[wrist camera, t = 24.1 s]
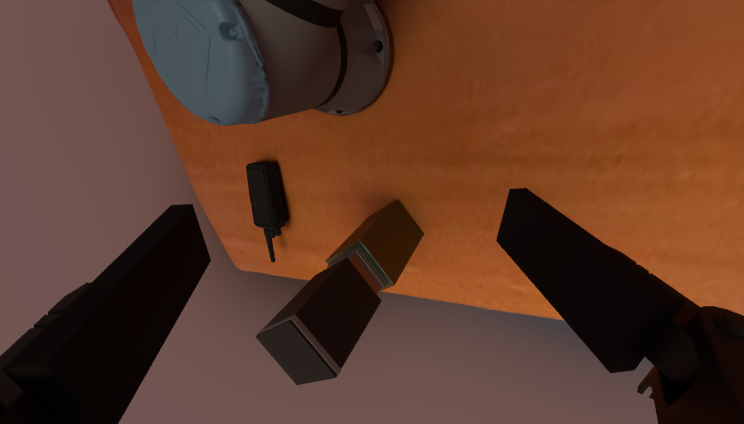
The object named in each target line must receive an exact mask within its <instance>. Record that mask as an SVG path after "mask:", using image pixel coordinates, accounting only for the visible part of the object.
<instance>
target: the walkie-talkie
mask: <svg viewBox="0 0 744 424" xmlns="http://www.w3.org/2000/svg"><path fill="white" fill-rule="evenodd" d="M246 170H247V179H248V187H249V195H250V201H251V205H252V213H253V219H254V224H255V225H256V226H257V227H261V228H263V229H264V234H265V237H266V241H267V245H268V249H269V254H270V258H271V262H275V258H274V250H273V244H272V238H275V236H279V235H281V229H280V228H281V227H283V226H285V224H286V221H288V216H287V210H286V205H285V200H284V196H283V192H282V188H281V184H280V180H279V177H278V172H277V167H276V163H275V162H255V163H251V164H248V165H247V166H246Z"/></svg>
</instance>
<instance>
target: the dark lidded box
mask: <svg viewBox="0 0 744 424" xmlns="http://www.w3.org/2000/svg"><path fill="white" fill-rule="evenodd" d="M380 302H381V300H380V298H379V297H378V296H377V294H376V293H375V292H374V291H373V289H372V288H371V287H370V286H369V284H368V283H367V282H366V280H365V279H364V278H363V277H362V275H361V274H360V273H359V272H358V270H357V269H356V268H355V267H354V265H353V264H352V263H351V261H350V260H349V259H348V258H345V259H343V260H341V261H340V262H338V263H336V264H334V265H333V266H331V267H329V268H327V269H326V270H324V271H322V272H320V273H319V274H317V275H315V276H314V277H313V278H312V279H311V280H310V281H309V282H308V283H307V284H306V285H305V286H304V287H303V288H302V289H301V290H300V292H299V293H298V294H297V295H296V296H295V297H294V298H293V299H292V300H291V301H290V302H289V303H288V304H287V305H286V306H285V307H284V308H283V309H282V310H281V311H280V312H279V313H278V314H277V315H276V316H275V317H274V318H273V319H272V320H271V321H270V322H269V324H267V325H266V327H264V328H263V329H262V330H261V331H260V332H259V333H258V335H257V336H256V338H257V339H258V340H259V341H260V343H261V344H262V345H263V346H264V347H265V348H266V350H267V351H268V352H269V353H270V354H271V355H272V356H273V358H274V359H275V360H276V361H277V362H278V364H279V365H280V366H281V367H282V368H283V369H284V371H285V372H286V373H287V374H288V375H289V376H290V378H291V379H292V380H293V381H294V382H295V383H296V384H297V385H300V384H305V383H311V382H316V381H321V380H327V379H332V378H336V377H337V375H339V373H340V371H341V368H342V367H343V365H344V363H345V361H346V360H347V358H348V356H349V355H350V353H351V351H352V350H353V348H354V346H355V345H356V343H357V341H358V340H359V338H360V336H361V335H362V333H363V331H364V329H365V328H366V326H367V324H368V323H369V321H370V319H371V318H372V316H373V314H374V313H375V311H376V309H377V308H378V306H379V304H380Z"/></svg>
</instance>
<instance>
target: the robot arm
mask: <svg viewBox="0 0 744 424" xmlns="http://www.w3.org/2000/svg"><path fill="white" fill-rule="evenodd" d="M132 5H133V10H134V15H135V19H136V23H137V26H138V30H139V33H140V36H141V39H142V41H143V44H144V46H145V49H146V51H147V53H148V55H149V57H150V59H151V60H152V62H153V65H154V67H155V69H156V70H157V72H158V74H159V76H160V77H161V79H162V80H163V82H164V83H165V84H166V86H167V87H168V89H169V90H170V91H171V92H172V94H173V95H174V96H175V97H176V98H177V99H178V100H179V101H180V102H181V103H182V104H183V105H184V106H185V107H186V108H187V109H188V110H190V111H191V112H192V113H193V114H195V115H196V116H198V117H200V118H201V119H203V120H205V121H208V122H210V123H213V124H217V125H224V126H229V125H236V124H243V123H246V124H256V123H259V122H261V121H264V120H268V119H272V118H276V117H280V116H284V115H288V114H292V113H296V112H300V111H304V110H308V109H312V108H313V109H315V110H318V111H321V112H324V113H327V114H331V115H337V116H344V115H350V114H353V113H357V112H359V111H362V110H364V109H366V108H367V107H369V106H370V105H371V104H373V103H374V102H375V101H376V100H377V99H378V97H379V96H380V95H381V94H382V92H383V90H384V89H385V87H386V85H387V82H388V80H389V77H390V74H391V70H392V65H393V54H394V51H393V38H392V33H391V29H390V26H389V23H388V20H387V18H386V16H385V14H384V12H383V10H382V9H381V7H380V6H379V4H378V3H377V2H376V1H375V0H132ZM496 241H497V242H498V243H499V245H500V246H501V247H502V248H503V249H504V250H505V251H506V253H507V254H508V255H509V256H510V257H511V258H512V260H513V261H514V262H515V263H516V264H517V265H518V267H519V268H520V269H521V270H522V271H523V272H524V274H525V275H526V276H527V277H528V278H529V279H530V280H531V282H532V283H533V284H534V285H535V286H536V287H537V289H538V290H539V291H540V292H541V293H542V294H543V296H544V297H545V298H546V299H547V300H548V301H549V303H550V304H551V305H552V306H553V307H554V308H555V309H556V311H557V312H558V313H559V314H560V315H561V316H562V318H563V319H564V320H565V321H566V322H567V323H568V325H569V326H570V327H571V328H572V329H573V330H574V332H575V333H576V334H577V335H578V336H579V337H580V338H581V340H582V341H583V342H584V343H585V344H586V345H587V347H588V348H589V349H590V350H591V351H592V352H593V354H594V355H595V356H596V357H597V358H598V359H599V360H600V362H601V363H602V364H603V365H604V366H605V367H606V369H607V370H608V371H609V372H610V373H616V372H624V371H631V370H635V369H636V367H637V366H638V365H639V363H640V362H641V361H642V359H643V358H644V356H645V357H646V358H647V359H648V360H649V361H650V362H651V363H652V364H653V365H654V367H653V368H652V369H651V370H650V372H649V373H648V375H647V376H646V377H645V378H644V379H643V381H642V382H641V383H640V385H639V386H638V390H637V392H638V393H640V394H643V392H644V391H645V390H646V389H647V388H648V387H649V386H650V387H652V394H651V395H650V396H649V398H652V399H654V402H655V408H656V413H657V419H658V424H744V316H742V315H740V314H738V313H735V312H732V311H730V310H727V309H723V308H719V307H714V306H704V307H702V308H701V307H699V306H698V305H696V304H695V303H693V302H692V301H691V300H689V299H688V298H686V297H685V296H683V295H682V294H681V293H679V292H678V291H676V290H675V289H673V288H672V287H671V286H669V285H668V284H666V283H665V282H663V281H662V280H661V279H659V278H658V277H656V276H655V275H653V274H652V273H651V274H649V271H648V270H646V269H645V268H643V267H642V266H640V265H637V264H636V262H635V261H633V260H632V259H630V258H629V257H628V256H626V255H625V254H623V253H622V252H620V251H618V250H616V249H613V248H611V247H609V246H607V245H605V244H604V243H602V242H601V241H600V240H598V239H597V238H595V237H594V236H593V235H591V234H590V233H588V232H587V231H586V230H584V229H583V228H581V227H580V226H579V225H577V224H576V223H574V222H573V221H572V220H570V219H569V218H567V217H566V216H565V215H563V214H562V213H560V212H559V211H558V210H556V209H555V208H553V207H552V206H551V205H549V204H548V203H546V202H545V201H544V200H542V199H541V198H539V197H538V196H536V195H535V194H534V193H532V192H531V191H529V190H528V189H527V188H520V189H510V191H509V194H508V198H507V202H506V206H505V210H504V213H503V217H502V221H501V225H500V229H499V232H498V236H497V240H496ZM210 261H211V259H210V256H209V253H208V250H207V247H206V244H205V241H204V238H203V235H202V232H201V229H200V226H199V223H198V220H197V217H196V214H195V211H194V208H193V205H192V204H185V205H171V206H170V207H169V208H168V209H167V210H166V211H165V212H164V213H163V214H162V215H161V216H160V217H159V218H158V219H156V220H155V221H154V222H153V223H152V224H151V226H149V227H148V229H146V230H145V231H144V232H143V233H142V234H141V235H140V236H139V237H138V238H137V239H136V240H135V241H134V242H133V243H132V244H131V245H130V246H129V247H128V248H127V249H126V250H125V251H124V252H123V253H122V254H121V255H120V256H119V257H118V258H117V259H116V260H115V261H113V262H112V263H111V264H110V265H109V266H108V267H107V268H106V269H105V270H104V271H103V272H102V273H101V274H100V275H99V276H98V277H97V278H96V279H95V280H94V281H93V282H92V283H86V284H84V285H82V286H81V287H79V288H78V289H76V290H74V291H73V292H71V293H69V294H68V295H66V296H65V297H64V298H63V299H61V300H60V301H59V302H58V303H57V304H56V305H55V306H54V307H53V308H52V309H51V310H50V311H49V312H48V315H44V316H43V317H42V318H41V319H40V320H39V321H38V322H37V323H36V324H35V325H34V328H32V329H29V330H28V331H27V332H26V333H25V334H24V335H23V336H22V337H21V338H20V339H18V340H17V341H16V342H15V343H14V344H13V345H12V346H11V347H10V348H9V349H8V350H7V351H5V352H4V353H3V354H2V355H1V356H0V424H118V423H119V421H120V420H121V418H122V416H123V414H124V412H125V411H126V409H127V407H128V405H129V404H130V402H131V400H132V398H133V397H134V395H135V393H136V391H137V390H138V388H139V386H140V384H141V382H142V381H143V379H144V377H145V376H146V374H147V372H148V370H149V368H150V367H151V365H152V363H153V361H154V360H155V358H156V356H157V354H158V353H159V351H160V349H161V347H162V345H163V344H164V342H165V340H166V338H167V337H168V335H169V333H170V332H171V330H172V328H173V326H174V325H175V323H176V321H177V319H178V317H179V316H180V314H181V312H182V310H183V309H184V307H185V305H186V303H187V302H188V300H189V298H190V296H191V295H192V293H193V291H194V289H195V288H196V286H197V284H198V282H199V281H200V279H201V277H202V275H203V274H204V272H205V270H206V268H207V266H208V265H209V263H210Z"/></svg>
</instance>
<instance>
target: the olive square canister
mask: <svg viewBox="0 0 744 424" xmlns="http://www.w3.org/2000/svg"><path fill="white" fill-rule="evenodd" d="M423 235H424V233H423V232H422V230H421V229H420V228H419V226H418V225H417V224H416V222H415V221H414V220H413V218H412V217H411V216H410V214H409V213H408V212H407V211H406V209H405V208H404V207H403V205H402V204H401V203H400V201H399V200H398V199H396V200H395V201H393V202H392V203H390V204H389V205H387V206H386V207H384V208H383V209H381V210H379V211H378V212H376V213H375V214H373V215H372V216H370V217H369V218H367V219H366V220H365V221H364V222H363V223H362V224H361V225H360V226H359V227H358V228H357V229H356V230H355V231H354V232H353V233H352V234H351V235H350V236H349V237H348V238H347V239H346V241H345V242H344V243H343V244H342V245H341V246H340V247H339V248H338V249H337V250H336V251H335V252H334V253H333V254H332V255H331V256H330V257H329V258H328V259H327V260H326V262H327V263H328V264H329V265H328V266H327V268H329V267H331V266H333V265H334V264H336V263H338V262H340V261H341V260H343V259H345V258H348V259H349V260H350V261H351V263H352V264H353V265H354V267H355V268H356V269H357V270H358V272H359V273H360V274H361V275H362V277H363V278H364V279H365V280H366V282H367V283H368V284H369V286H370V287H371V288H372V289H373V291H374V292H375V293H376V294H377V293H378V292H379V291H381V290H384V289H386V288H389V287H391V286H393V285H395V283H396V282H397V280H398V278H399V276H400V275H401V273H402V271H403V270H404V268H405V266H406V264H407V263H408V261H409V259H410V257H411V256H412V254H413V252H414V250H415V249H416V247H417V245H418V244H419V242H420V240H421V238H422V237H423Z"/></svg>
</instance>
